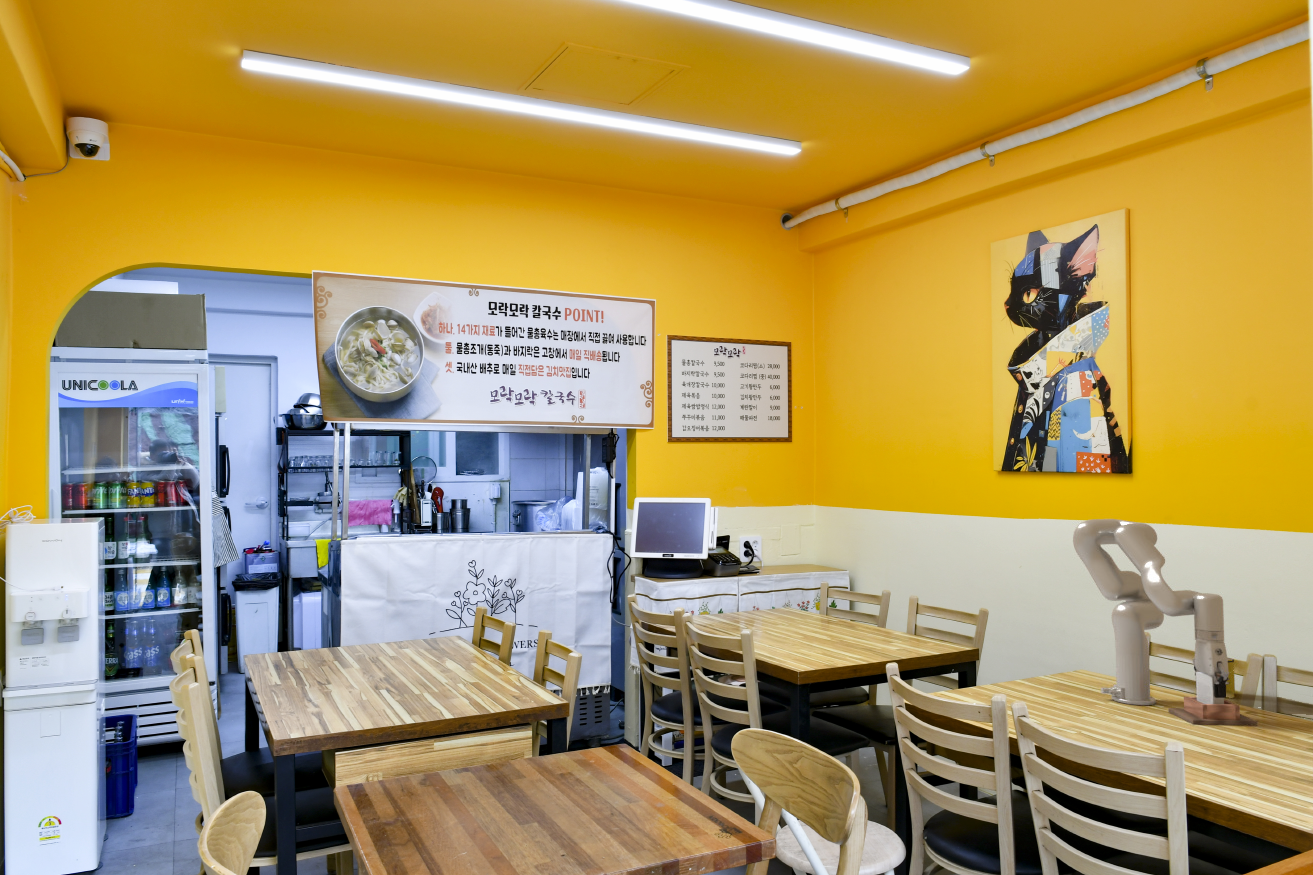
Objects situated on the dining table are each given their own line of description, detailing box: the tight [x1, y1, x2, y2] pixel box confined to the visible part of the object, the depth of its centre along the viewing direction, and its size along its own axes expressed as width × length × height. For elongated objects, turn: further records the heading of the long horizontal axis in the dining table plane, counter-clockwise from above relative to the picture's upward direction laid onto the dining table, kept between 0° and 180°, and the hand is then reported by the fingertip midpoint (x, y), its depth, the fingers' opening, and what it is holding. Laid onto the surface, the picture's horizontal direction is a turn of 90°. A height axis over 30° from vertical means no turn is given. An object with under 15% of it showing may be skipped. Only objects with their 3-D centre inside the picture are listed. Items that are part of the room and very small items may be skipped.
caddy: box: [1167, 696, 1258, 726], centre depth 269 cm, size 18×14×5 cm
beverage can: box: [1225, 657, 1236, 699], centre depth 299 cm, size 9×9×12 cm
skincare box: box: [1195, 672, 1225, 704], centre depth 270 cm, size 6×4×12 cm
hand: (1210, 693), depth 269 cm, fingers open, 9 cm apart
